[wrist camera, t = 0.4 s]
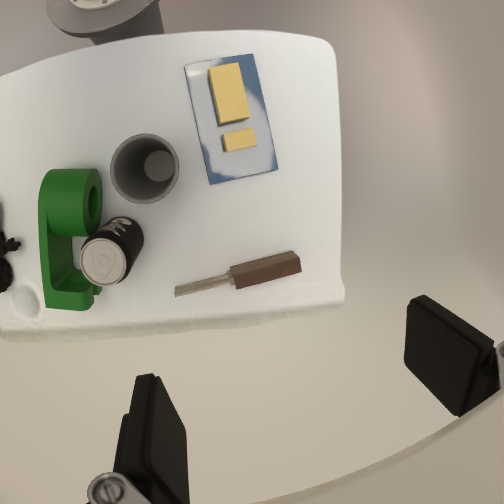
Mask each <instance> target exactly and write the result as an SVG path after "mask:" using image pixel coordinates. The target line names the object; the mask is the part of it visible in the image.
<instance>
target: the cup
mask: <svg viewBox="0 0 504 504" xmlns="http://www.w3.org/2000/svg"><path fill="white" fill-rule="evenodd" d="M178 172H179V163H178V158H177V155H176V152H175V151H174V149H173V147H172V146H171V145H170V144H169V143H168V142H167V141H166V140H164V139H163V138H161V137H159V136H157V135H153V134H139V135H135V136H133V137H130V138H128V139H127V140H125V141H124V142H123V143H122V144H121V145H120V146H119V147H118V148H117V150H116V151H115V153H114V155H113V157H112V161H111V165H110V175H111V180H112V183H113V185H114V187H115V189H116V191H117V192H118V193H119V194H120V195H121V196H122V197H124V198H125V199H126V200H128V201H130V202H133V203H137V204H149V203H153V202H156V201H158V200H160V199H162V198H163V197H165V196H166V195H167V194H168V193H169V192H170V191H171V189H172V188H173V187H174V185H175V183H176V180H177V177H178Z"/></svg>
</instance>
